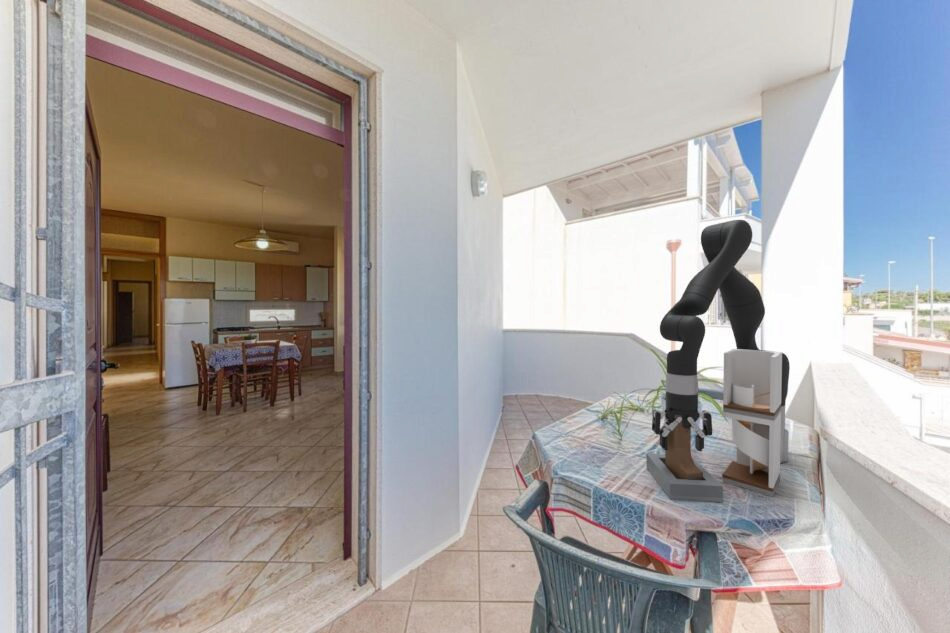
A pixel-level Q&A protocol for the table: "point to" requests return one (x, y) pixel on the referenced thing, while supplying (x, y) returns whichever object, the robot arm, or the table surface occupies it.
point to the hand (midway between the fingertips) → (681, 449)
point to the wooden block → (681, 454)
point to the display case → (754, 417)
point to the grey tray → (684, 482)
